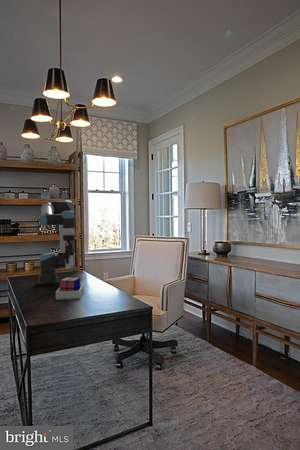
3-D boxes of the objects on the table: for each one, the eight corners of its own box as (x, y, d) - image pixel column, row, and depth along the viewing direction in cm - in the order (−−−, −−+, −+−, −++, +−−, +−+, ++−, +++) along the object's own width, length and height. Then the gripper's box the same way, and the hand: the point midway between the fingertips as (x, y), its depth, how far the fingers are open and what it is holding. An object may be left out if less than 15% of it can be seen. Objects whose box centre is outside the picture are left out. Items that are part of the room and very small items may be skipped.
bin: (61, 292, 227) (61, 285, 227) (83, 291, 229) (83, 284, 228) (55, 299, 208) (55, 291, 208) (80, 298, 210) (79, 291, 209)
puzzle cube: (74, 296, 213) (74, 280, 212) (59, 295, 214) (59, 280, 214) (80, 292, 223) (80, 277, 222) (66, 292, 224) (65, 277, 224)
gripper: (66, 233, 229) (67, 263, 230) (59, 236, 204) (60, 270, 205) (77, 233, 230) (78, 263, 231) (71, 235, 205) (72, 270, 206)
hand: (69, 266), depth 218 cm, fingers open, 13 cm apart
